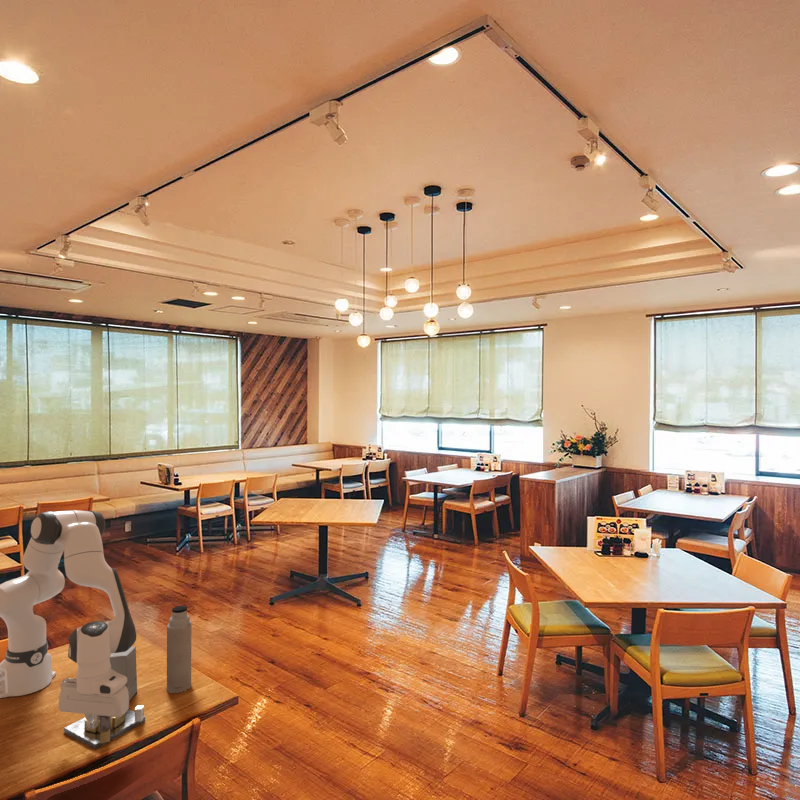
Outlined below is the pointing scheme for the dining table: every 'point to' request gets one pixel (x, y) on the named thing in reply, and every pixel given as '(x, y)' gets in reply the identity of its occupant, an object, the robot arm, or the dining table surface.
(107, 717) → the tan ring with handle
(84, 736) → the grey peg base
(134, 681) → the skincare box
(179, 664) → the thermos bottle
